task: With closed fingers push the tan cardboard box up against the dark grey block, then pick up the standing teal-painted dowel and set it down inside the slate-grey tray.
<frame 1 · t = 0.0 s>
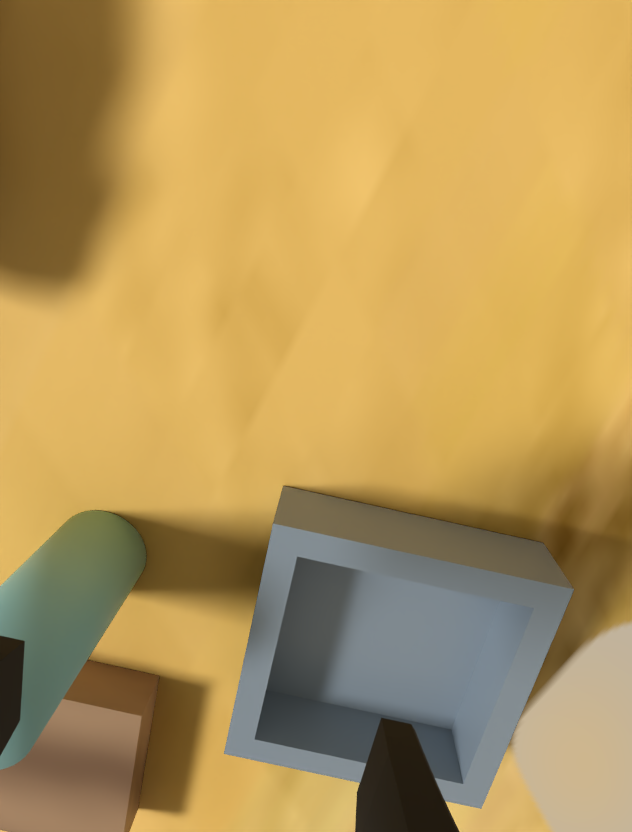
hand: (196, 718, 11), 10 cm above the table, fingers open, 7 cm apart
tray: (380, 623, 22), on the table
tan cardboard box: (87, 723, 25), on the table
dowel: (101, 551, 21), on the table
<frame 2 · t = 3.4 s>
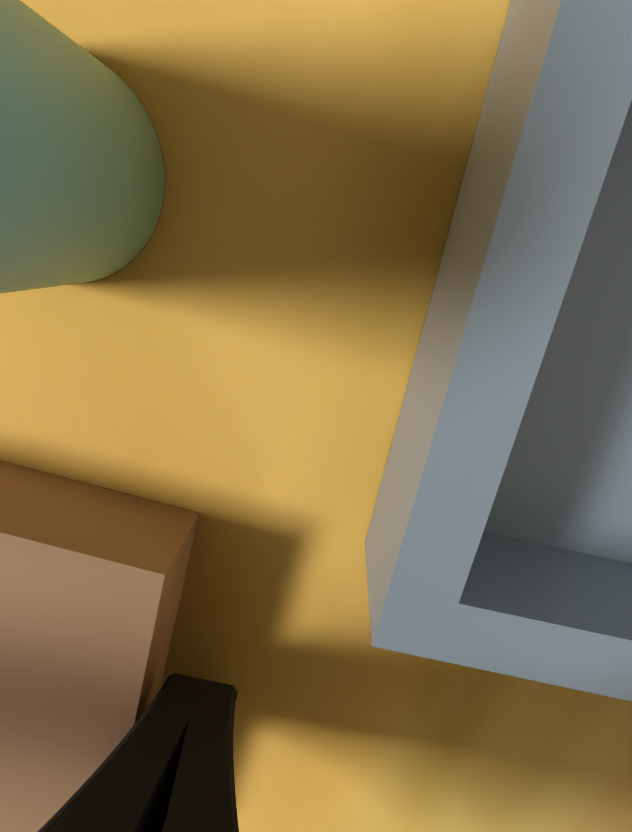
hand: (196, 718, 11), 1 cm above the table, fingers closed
tan cardboard box: (40, 624, 12), on the table, touching gripper
dowel: (56, 171, 9), on the table
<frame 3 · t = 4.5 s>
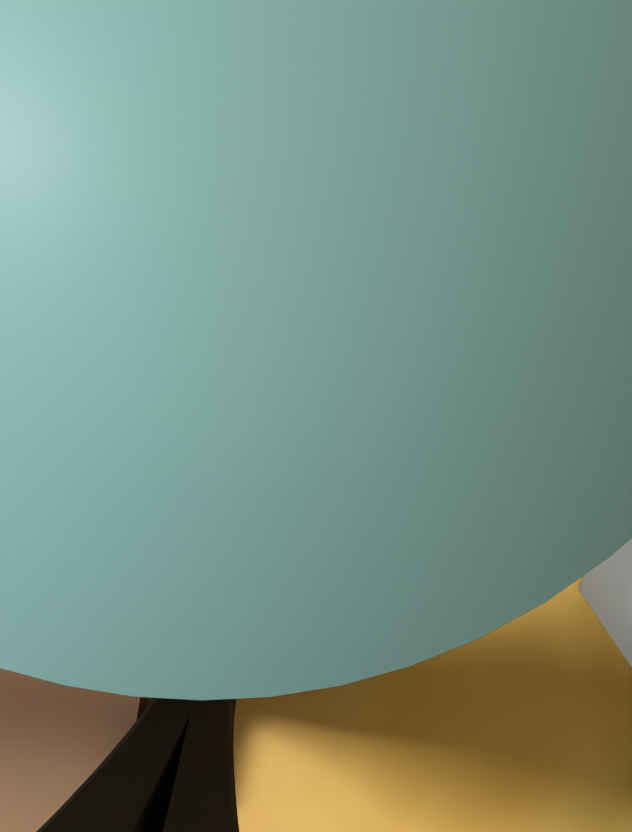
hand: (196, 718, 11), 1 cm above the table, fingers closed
tan cardboard box: (44, 623, 12), on the table
dowel: (314, 227, 9), on the table
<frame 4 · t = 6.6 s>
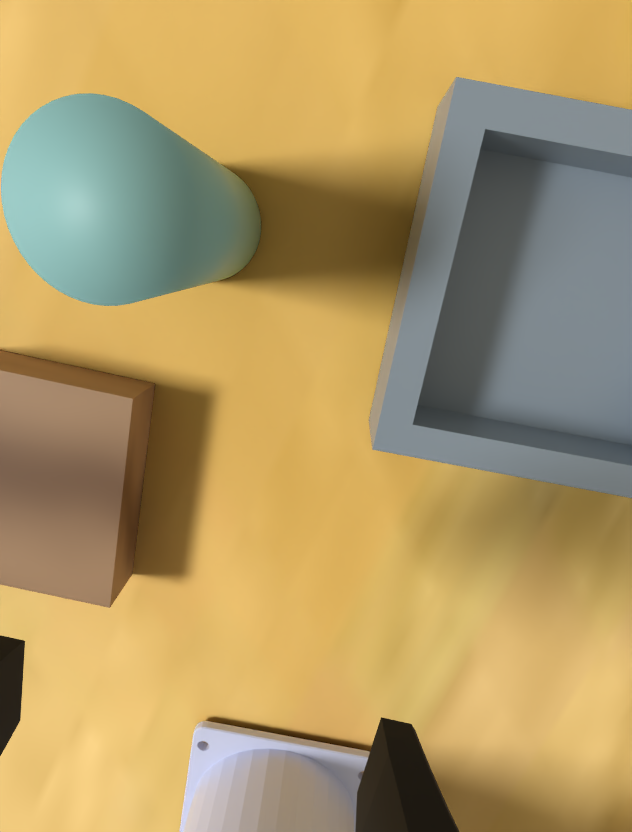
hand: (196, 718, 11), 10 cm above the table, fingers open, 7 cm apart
tray: (551, 305, 18), on the table
tan cardboard box: (70, 463, 21), on the table
dowel: (205, 224, 17), on the table
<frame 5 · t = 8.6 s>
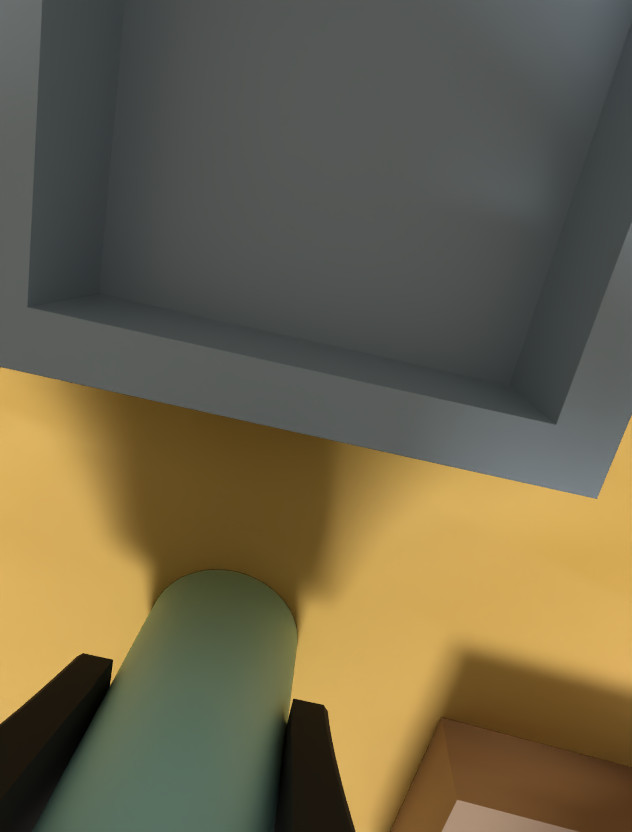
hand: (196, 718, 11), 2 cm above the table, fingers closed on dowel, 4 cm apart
tray: (353, 115, 10), on the table
tan cardboard box: (541, 824, 15), on the table
dowel: (223, 634, 13), on the table, touching gripper
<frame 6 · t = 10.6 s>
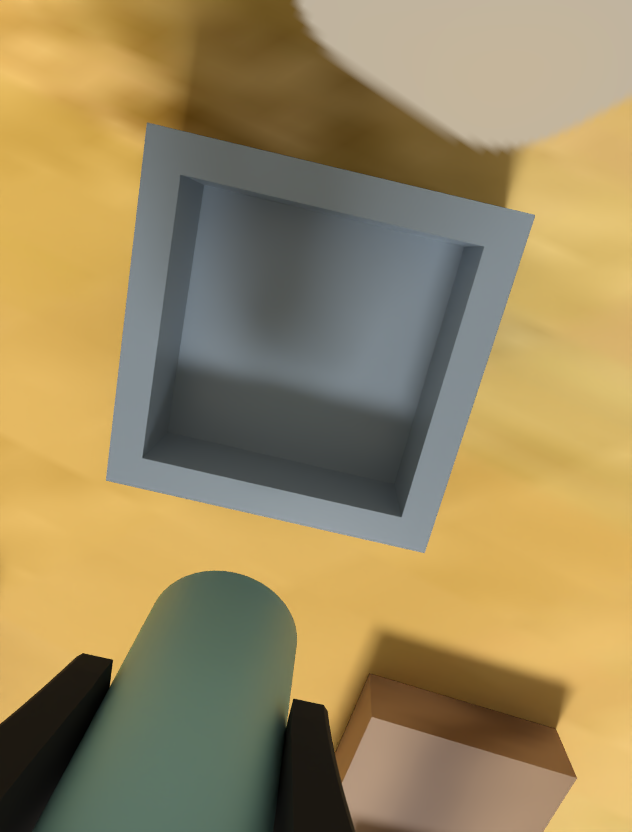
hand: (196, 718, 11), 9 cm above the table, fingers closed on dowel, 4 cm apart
tray: (307, 342, 18), on the table
tan cardboard box: (434, 746, 23), on the table
dowel: (222, 635, 13), point 7 cm above the table, touching gripper
when the fingers open (4 cm above the table, at t = 12.5 s): dowel stays where it is, resting on tray.
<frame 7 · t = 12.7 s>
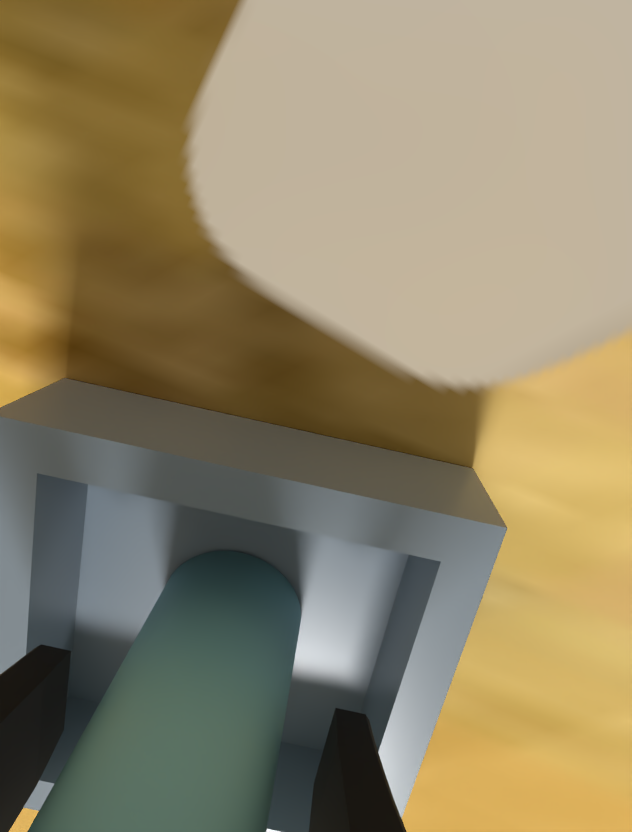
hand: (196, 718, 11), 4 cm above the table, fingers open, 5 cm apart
tray: (235, 596, 14), on the table
dowel: (231, 611, 14), point 1 cm above the table, touching tray
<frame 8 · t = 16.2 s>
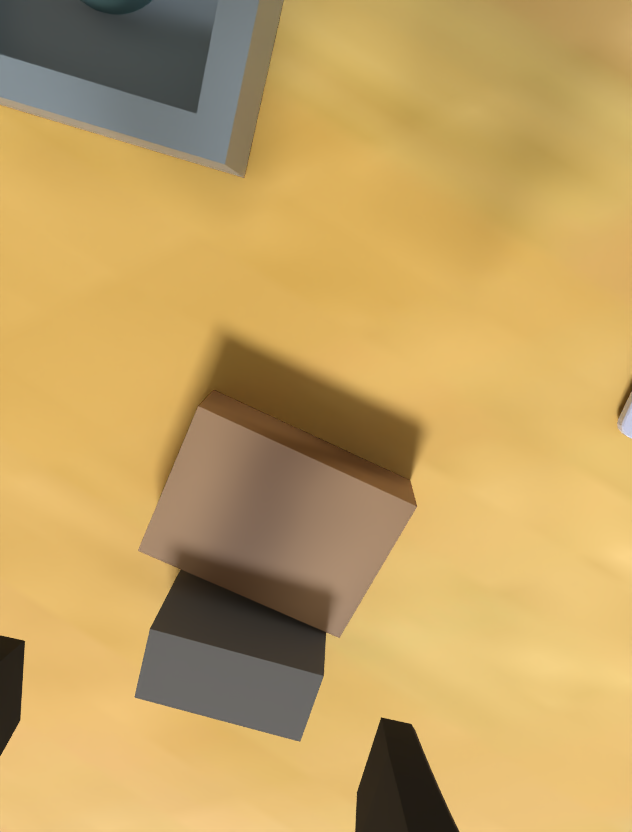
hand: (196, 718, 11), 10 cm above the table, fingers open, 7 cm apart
tan cardboard box: (281, 497, 21), on the table
dark grey block: (247, 611, 22), on the table
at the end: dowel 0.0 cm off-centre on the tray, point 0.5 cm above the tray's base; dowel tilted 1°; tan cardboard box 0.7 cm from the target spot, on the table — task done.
